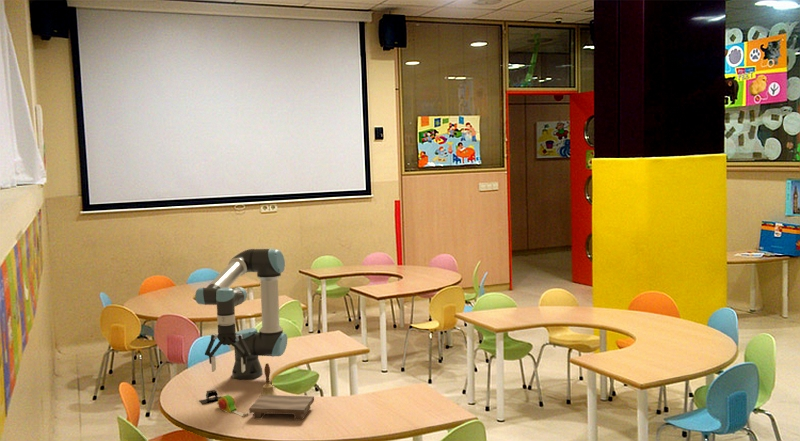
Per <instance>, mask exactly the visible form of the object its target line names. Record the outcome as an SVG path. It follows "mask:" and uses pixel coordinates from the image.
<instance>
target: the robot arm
mask: <svg viewBox="0 0 800 441" xmlns="http://www.w3.org/2000/svg"><path fill="white" fill-rule="evenodd" d="M284 257H285V256H284V255H283V253H282V251H281V250H280V249H273V248H250V249H245V250H243V251H241V252H240V253H238V254H236V255H235V256H233V257H232V258H231V259H230V260H229V262H228V265H227V266H226V267H225V268H224V269H223V270H222V271H221V272H220V273H219V274H218V275H217V276H216V277H215V278H214V279H213V281H211V282H210V283H209V284H208V285H207V286H206V287H198V288H197V289H196V292H195V294H194V297H195V298H194V299H195V302H196V303H197V304H198V305H204V306H208V305H209V306H216V317H217V318H216V319H217V321H216V322H217V334H216V333H213V334H212V335H210V341H209V342H208V345H207V348H206V349H205V352H204V355H205V356H208V358H209V359H208V361H209V364H210V365H211V372H215V371H217V365H216V363H217V362H216V355H215V354H216V352H217V351H218V350H219V348H220V347H221V345H222V346H232V347H234V348H233V349H234V362H233V364H234V365H233V368H232V371H231V376H232V378H233V379H237V380H252V379H256V378H259V377H261V376H262V375H263V367H262V365H261V362H260V359H259V357H273V358H274V357H281V356H283V355H284V353H285V351H286V349H287V345H288V335H287V333H285V332H283V327H282V326H280V298H279V278H281V275H282V273H284V271H285V267H286V263H285V262H286V261H285V258H284ZM248 273H256V275H257V278H258V279H259V281H260V297H261V298H260V302H261V303H260V304H261V328H260V329H259V330H258V329H257V328H255V327H253V328H250V327H249V328H245V329H241V330H238V331H236V330H237V329H236V324H235V323H236V314H235V313H236V312H235V308H236V307H237V306H239V305H242V304H243V303H244V302H245V301H246V300H247V298H248V292H247V290H246V289H245V288H243V287H241V286H235V287H233V288H232V287H231V286H232V285H233V284H234V283H235V282H236V281H237V280H238V279H239V277H241V276H242V277H243V276H244V275H245V274H248ZM217 339H218V343H216V345H215V346H214V343H215V342H216V340H217ZM213 346H214V348H213ZM212 348H213V349H212Z"/></svg>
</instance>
